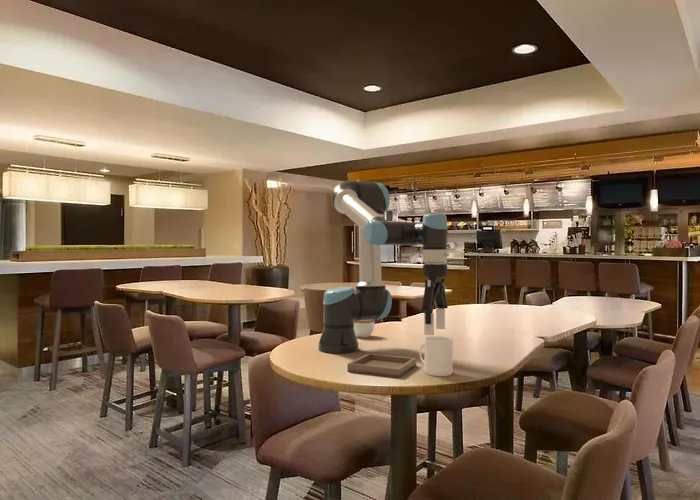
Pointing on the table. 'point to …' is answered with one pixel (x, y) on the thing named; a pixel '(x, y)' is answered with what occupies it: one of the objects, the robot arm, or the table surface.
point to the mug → (437, 356)
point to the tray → (382, 365)
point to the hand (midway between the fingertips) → (435, 331)
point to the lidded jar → (364, 328)
